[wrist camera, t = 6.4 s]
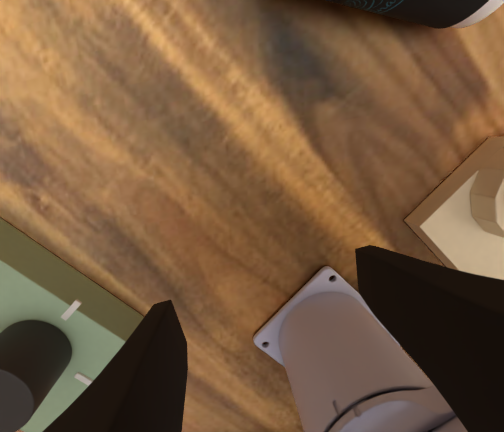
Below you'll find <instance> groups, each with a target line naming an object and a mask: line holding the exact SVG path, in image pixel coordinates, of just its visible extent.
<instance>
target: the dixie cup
mask: <svg viewBox="0 0 504 432" xmlns="http://www.w3.org/2000/svg"><path fill="white" fill-rule="evenodd" d="M326 1H330V2H334V3H338V4H342V5H346V6H350V7H354V8H358V9H362V10H366V11H370V12H374V13H378V14H381V15H385V16H389V17H393V18H397V19H401V20H405V21H409V22H413V23H417V24H421V25H425V26H429V27H433V28H447V27H453V28H464V27H467V26H470V25H473V24H475V23H477V22H479V21H481V20H482V19H484V18H485V17H487V16H488V15H490V14H491V13H493V12H494V11H495V10H496V9H497V8H499V7H500V6H501V5H502V4H503V3H504V0H326Z"/></svg>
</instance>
